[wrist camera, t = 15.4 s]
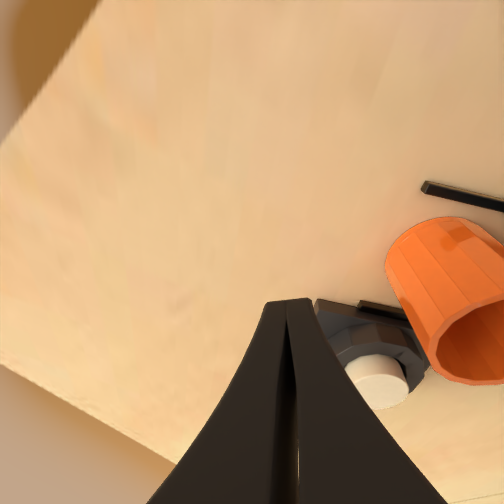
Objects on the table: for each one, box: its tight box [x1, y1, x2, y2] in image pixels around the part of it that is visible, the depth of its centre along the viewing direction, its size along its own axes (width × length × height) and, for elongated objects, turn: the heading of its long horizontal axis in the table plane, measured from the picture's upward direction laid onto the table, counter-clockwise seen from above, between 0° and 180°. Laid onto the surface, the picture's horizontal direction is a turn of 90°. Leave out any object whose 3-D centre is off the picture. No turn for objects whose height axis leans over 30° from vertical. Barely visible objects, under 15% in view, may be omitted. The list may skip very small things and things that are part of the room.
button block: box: [314, 299, 431, 394], centre depth 23 cm, size 10×7×3 cm
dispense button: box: [344, 354, 409, 410], centre depth 21 cm, size 4×4×2 cm
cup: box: [385, 217, 504, 386], centre depth 17 cm, size 6×6×7 cm
